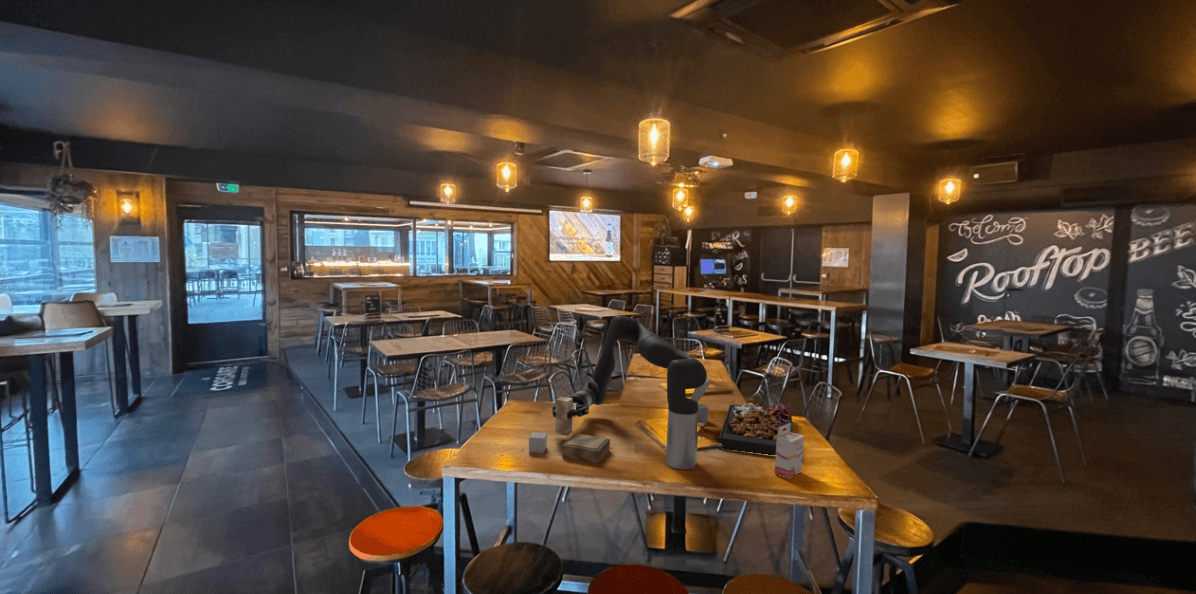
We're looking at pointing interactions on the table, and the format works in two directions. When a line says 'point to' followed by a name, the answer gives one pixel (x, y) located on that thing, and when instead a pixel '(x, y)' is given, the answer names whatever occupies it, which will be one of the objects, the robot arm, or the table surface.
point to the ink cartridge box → (788, 452)
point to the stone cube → (538, 442)
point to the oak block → (563, 416)
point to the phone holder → (701, 408)
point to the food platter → (754, 428)
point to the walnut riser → (586, 448)
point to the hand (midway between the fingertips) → (561, 415)
